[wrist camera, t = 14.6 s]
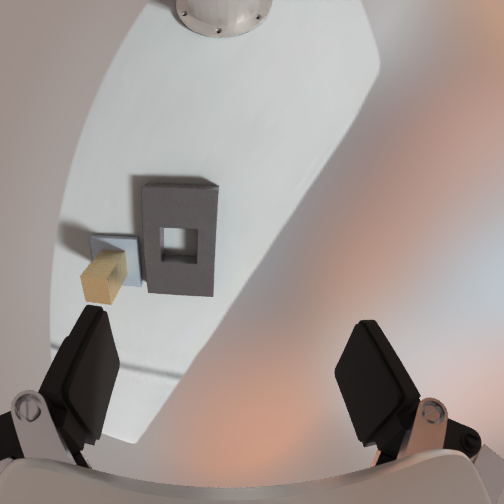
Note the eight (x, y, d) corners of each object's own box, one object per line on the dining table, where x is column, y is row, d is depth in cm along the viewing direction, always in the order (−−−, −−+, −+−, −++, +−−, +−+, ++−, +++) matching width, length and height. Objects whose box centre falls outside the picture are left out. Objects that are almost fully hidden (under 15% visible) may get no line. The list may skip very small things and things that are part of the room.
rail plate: (146, 183, 35) (141, 187, 33) (218, 185, 36) (218, 190, 34) (151, 284, 42) (148, 292, 40) (213, 287, 43) (213, 296, 41)
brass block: (101, 249, 38) (80, 275, 30) (125, 251, 38) (106, 278, 31) (105, 272, 39) (85, 301, 32) (127, 274, 40) (111, 304, 33)
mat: (92, 234, 37) (89, 237, 36) (138, 236, 38) (136, 239, 37) (99, 279, 41) (96, 282, 40) (142, 283, 42) (141, 286, 41)
